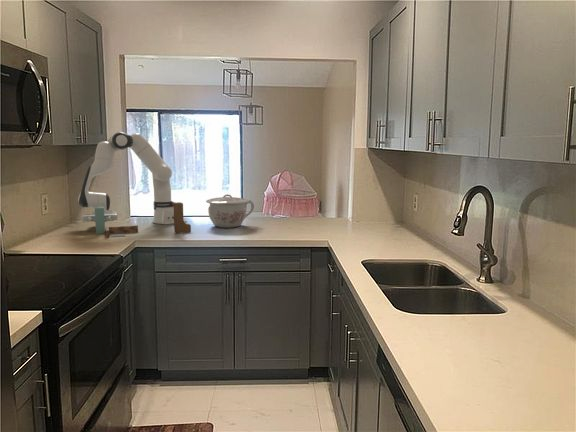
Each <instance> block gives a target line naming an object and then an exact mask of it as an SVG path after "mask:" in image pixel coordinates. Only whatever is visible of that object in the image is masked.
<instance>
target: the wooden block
mask: <svg viewBox="0 0 576 432" xmlns="http://www.w3.org/2000/svg"><path fill="white" fill-rule="evenodd" d="M183 218H184V203H183V202H182V201H181V202H180V201H179V202H175V203H174V224H173V227H174V233H176V234H183V233H184V234H185V233H191V232H192V227H191V226H192V225H191V224H190V223H187V222H185V223H184V220H183Z"/></svg>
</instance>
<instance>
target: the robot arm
mask: <svg viewBox="0 0 576 432" xmlns="http://www.w3.org/2000/svg"><path fill="white" fill-rule="evenodd" d="M128 148H129V149H131V151H133V152H134V154H135V155H136V156H137V157H138V159H139V160H140V161H141V162H142V163H143V165H145V167H146V168H147V169H148V170H149V171H150V172H151V174H152V175H151V176H152V183H153V185H152V186H153V200H154V201H153V218H152V223H153V224H159V225H161V224H162V225H172V224H173V225H174V203H176V201H172V188H171V182H170V181H171V180H170V179H171V177H172V174H173V172H172V171H173V170H172V169H171V167H170V166H169V165H168V164H167V163H166V162H165V160H164V159H163V158H162V157H161V155H159V153H157V151H156V150H155V149H154V147H153V146H152V145H151V143H149V142H148V140H147V139H146V138H145V137H144V136H142V135H141V134H140V133H138V132H135V133H132V134H127V133H126V132H122V131H117V132H115V133H113V134H112V135H111V136H110V137H109V138H108V140H107V141H100V142H99V143H97V146H96V150H95V154H94V161H93V163H92V164H91V165H89V166H88V167H87V171H86V174H85V177H84V180H83V182H82V183H83V184H82V187H81V190H80V193H79V195H78V197H77V202H78V205H79V206H80V207H82V208H93V209H92V212H91V213H88V214H87V213H85V214H81V217H80V218H81V223H84V222H85V223H86V222H87V223H88V222H94V223H95V207H104V221H105V223H107V222H113V221H118V214H117V212H116V211H115V210H111V209H110V208H111V207H110V206H111V198H110V196H109V194H108V193H106V192H95V191H89V189H90V187H91V182H92V179H93V178H95V177H96V176H99V175H103V174H106V173H108V172H110V171H112V169H113V166H114V157H115V153H116V152H117V151H124V150H125V149H128ZM183 220H184V223H187V222H188V219H186V218H184V217H183Z"/></svg>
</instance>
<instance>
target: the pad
mask: <svg viewBox="0 0 576 432" xmlns="http://www.w3.org/2000/svg"><path fill="white" fill-rule="evenodd" d="M109 236H110V238H116V237H117V238H118V237H120V238H121V237H126V233H118V234H109Z"/></svg>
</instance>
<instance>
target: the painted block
mask: <svg viewBox="0 0 576 432" xmlns="http://www.w3.org/2000/svg"><path fill="white" fill-rule="evenodd" d="M94 223H95V234H106V225H105V223H106V222H105V221H104V207H95V222H94Z"/></svg>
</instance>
